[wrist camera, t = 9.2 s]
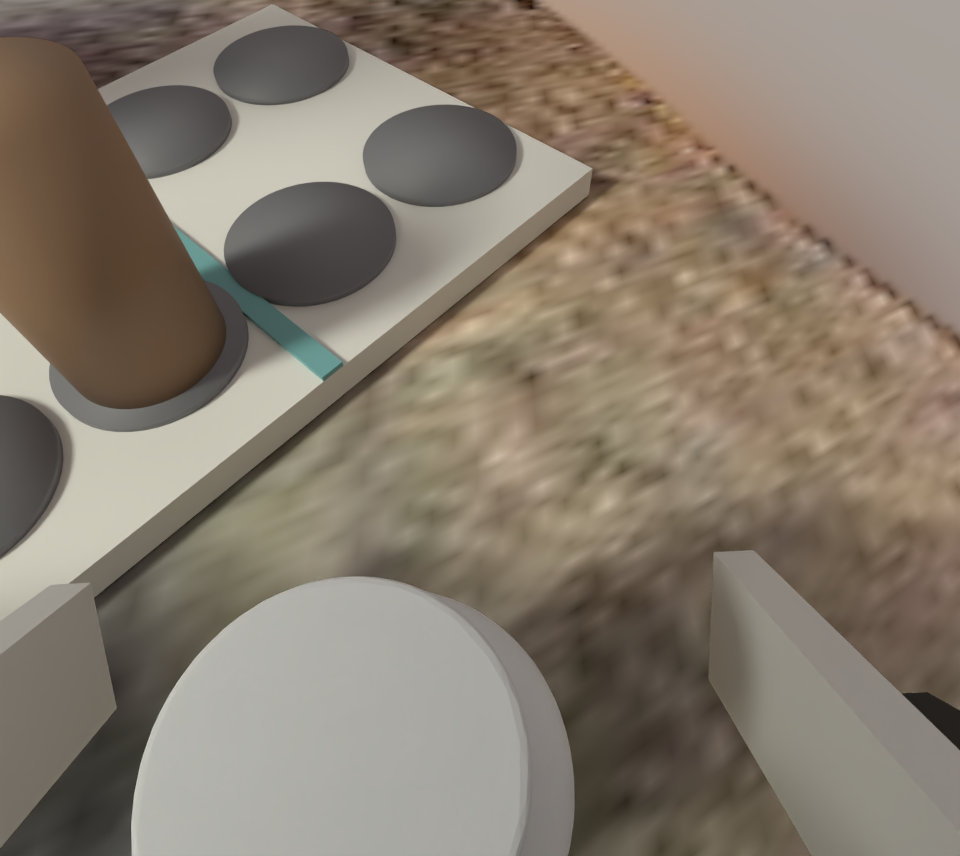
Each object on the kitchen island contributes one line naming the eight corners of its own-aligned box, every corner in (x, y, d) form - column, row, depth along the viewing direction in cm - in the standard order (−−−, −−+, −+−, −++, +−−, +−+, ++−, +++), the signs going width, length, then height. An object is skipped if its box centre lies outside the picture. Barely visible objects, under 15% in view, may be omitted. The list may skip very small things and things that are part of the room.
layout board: (-57, 720, 16) (-656, 616, 8) (-286, 316, 23) (-711, 45, 15) (588, 194, 25) (629, -100, 17) (279, 29, 33) (207, -230, 25)
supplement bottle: (583, 892, 13) (712, 1010, 5) (334, 989, 13) (27, 1305, 4) (503, 644, 16) (506, 463, 8) (295, 712, 16) (60, 592, 7)
